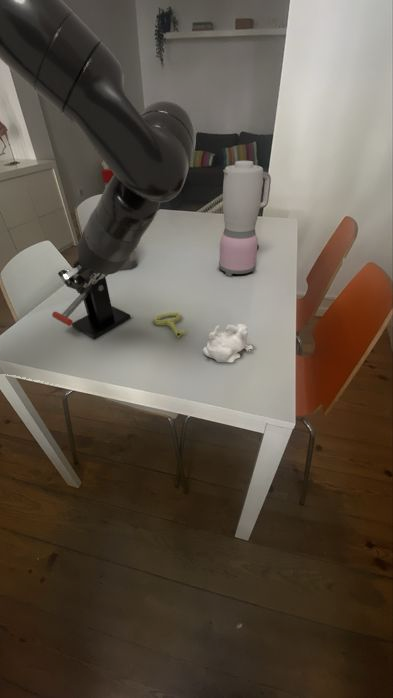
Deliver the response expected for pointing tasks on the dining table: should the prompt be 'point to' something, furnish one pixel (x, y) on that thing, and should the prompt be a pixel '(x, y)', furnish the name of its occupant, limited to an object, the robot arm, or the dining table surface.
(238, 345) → the rabbit figurine
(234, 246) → the blender
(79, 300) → the lever
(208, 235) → the dining table surface
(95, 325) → the switch bracket
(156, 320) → the key
